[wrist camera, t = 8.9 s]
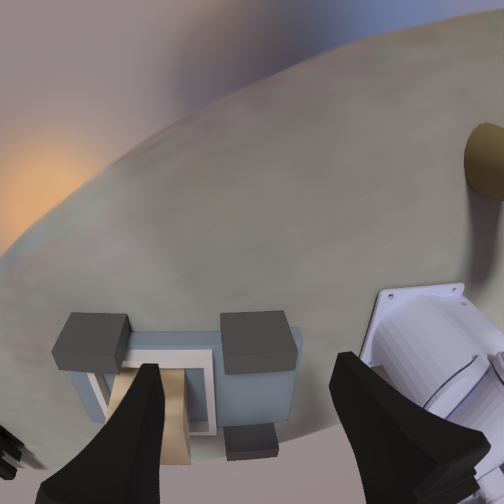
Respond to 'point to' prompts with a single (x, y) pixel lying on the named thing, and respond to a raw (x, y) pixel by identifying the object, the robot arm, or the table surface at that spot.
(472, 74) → the table surface
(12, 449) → the end cap
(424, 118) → the table surface
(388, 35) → the table surface
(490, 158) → the cork
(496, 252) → the table surface
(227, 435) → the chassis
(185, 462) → the block
